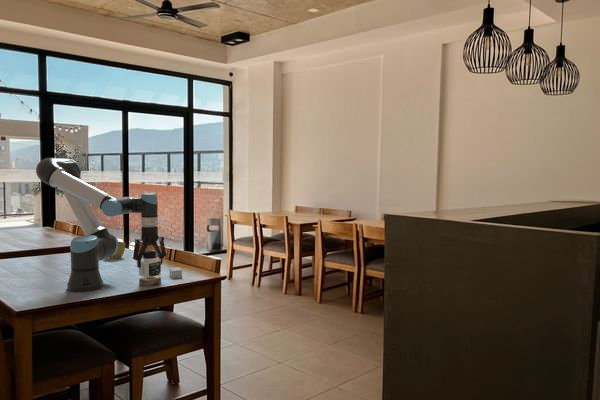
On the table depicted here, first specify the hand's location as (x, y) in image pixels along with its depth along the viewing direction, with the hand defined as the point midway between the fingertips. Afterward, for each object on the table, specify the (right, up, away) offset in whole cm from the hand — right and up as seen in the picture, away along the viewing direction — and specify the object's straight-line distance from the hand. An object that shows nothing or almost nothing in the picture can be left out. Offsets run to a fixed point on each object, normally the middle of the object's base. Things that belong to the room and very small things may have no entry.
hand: (150, 272), depth 229 cm
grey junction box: (+8, -4, +16) cm, 18 cm away
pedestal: (0, -5, 0) cm, 5 cm away
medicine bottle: (0, -2, 0) cm, 2 cm away
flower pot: (-40, 0, +60) cm, 72 cm away
